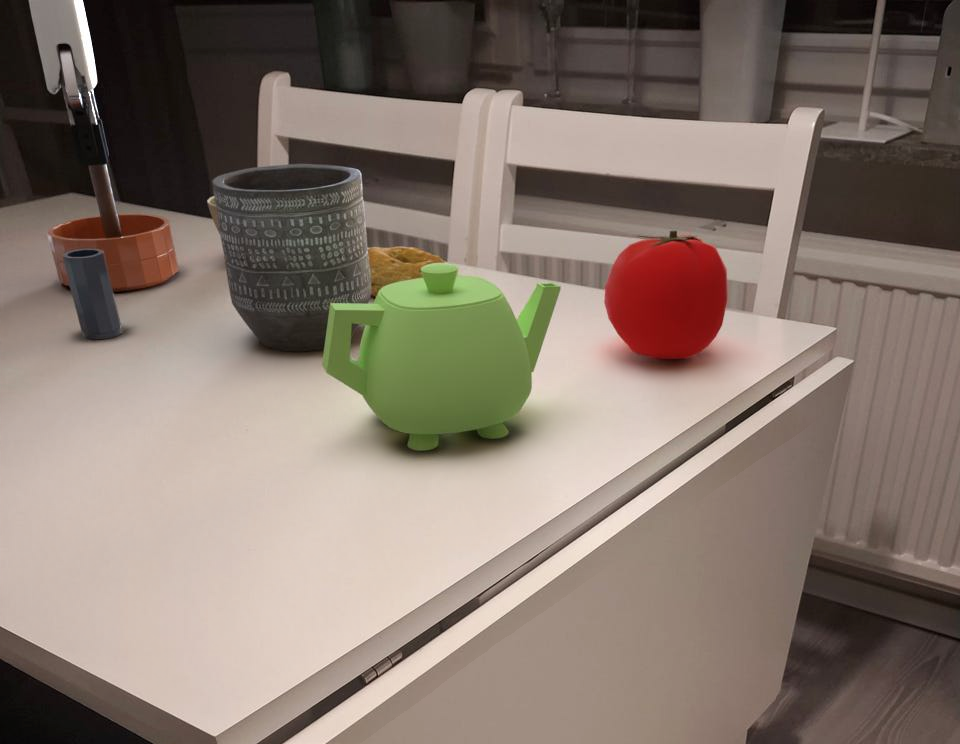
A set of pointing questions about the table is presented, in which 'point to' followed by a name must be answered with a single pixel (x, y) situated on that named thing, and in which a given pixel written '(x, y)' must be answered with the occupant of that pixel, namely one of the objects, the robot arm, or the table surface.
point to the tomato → (667, 296)
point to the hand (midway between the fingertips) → (94, 160)
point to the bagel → (397, 265)
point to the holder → (92, 293)
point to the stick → (105, 200)
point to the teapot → (441, 353)
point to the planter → (293, 248)
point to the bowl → (120, 248)
